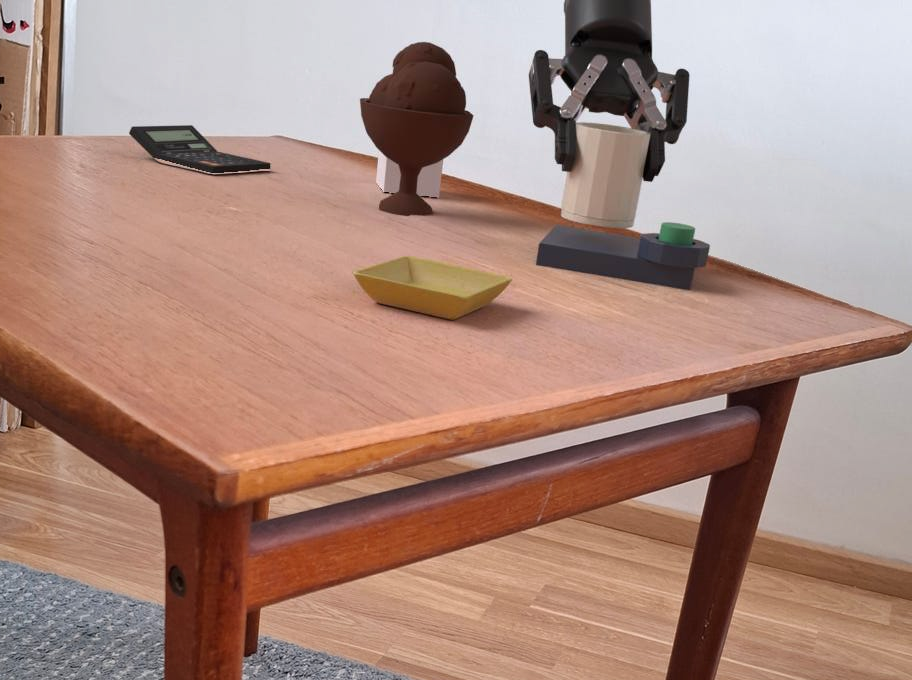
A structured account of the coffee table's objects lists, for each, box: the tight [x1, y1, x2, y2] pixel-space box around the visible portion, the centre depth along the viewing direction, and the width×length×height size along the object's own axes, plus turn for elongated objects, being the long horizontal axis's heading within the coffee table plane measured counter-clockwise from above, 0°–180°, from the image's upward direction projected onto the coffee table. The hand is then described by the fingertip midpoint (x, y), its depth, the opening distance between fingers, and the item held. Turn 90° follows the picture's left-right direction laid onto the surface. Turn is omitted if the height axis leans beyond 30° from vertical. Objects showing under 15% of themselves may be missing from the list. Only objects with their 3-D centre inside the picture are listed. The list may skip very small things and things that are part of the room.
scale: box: [535, 224, 711, 291], centre depth 107 cm, size 14×12×4 cm
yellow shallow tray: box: [352, 255, 513, 321], centre depth 86 cm, size 9×9×2 cm
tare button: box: [658, 221, 696, 245], centre depth 102 cm, size 3×3×2 cm
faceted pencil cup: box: [560, 121, 651, 229], centre depth 106 cm, size 6×6×8 cm
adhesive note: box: [375, 150, 444, 199], centre depth 132 cm, size 6×6×6 cm
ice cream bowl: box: [359, 41, 474, 217], centre depth 118 cm, size 11×11×15 cm
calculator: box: [128, 124, 271, 173], centre depth 132 cm, size 9×12×3 cm
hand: (610, 170), depth 104 cm, fingers closed on faceted pencil cup, 6 cm apart
